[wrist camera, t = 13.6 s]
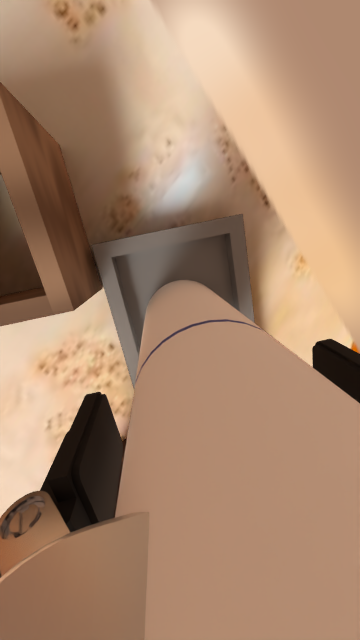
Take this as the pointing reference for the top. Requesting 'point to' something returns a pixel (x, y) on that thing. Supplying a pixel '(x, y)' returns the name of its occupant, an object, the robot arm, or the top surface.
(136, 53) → the top surface
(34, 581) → the robot arm
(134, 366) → the tray
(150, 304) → the cylindrical container
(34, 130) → the sleeve holder
